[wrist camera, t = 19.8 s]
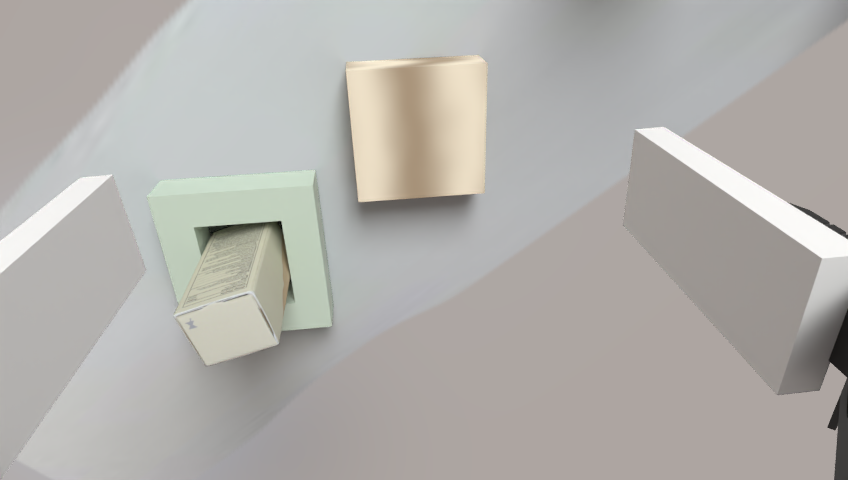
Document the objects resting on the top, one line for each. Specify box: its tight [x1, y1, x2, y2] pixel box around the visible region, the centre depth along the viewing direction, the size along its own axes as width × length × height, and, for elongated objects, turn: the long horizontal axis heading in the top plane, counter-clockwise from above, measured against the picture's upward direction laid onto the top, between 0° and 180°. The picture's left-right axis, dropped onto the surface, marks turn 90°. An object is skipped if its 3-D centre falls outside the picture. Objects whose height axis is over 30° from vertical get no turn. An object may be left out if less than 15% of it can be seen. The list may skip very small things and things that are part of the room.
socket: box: [147, 170, 333, 331], centre depth 41 cm, size 11×12×3 cm
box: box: [174, 221, 291, 366], centre depth 38 cm, size 5×4×11 cm
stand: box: [346, 55, 488, 202], centre depth 38 cm, size 9×9×3 cm
